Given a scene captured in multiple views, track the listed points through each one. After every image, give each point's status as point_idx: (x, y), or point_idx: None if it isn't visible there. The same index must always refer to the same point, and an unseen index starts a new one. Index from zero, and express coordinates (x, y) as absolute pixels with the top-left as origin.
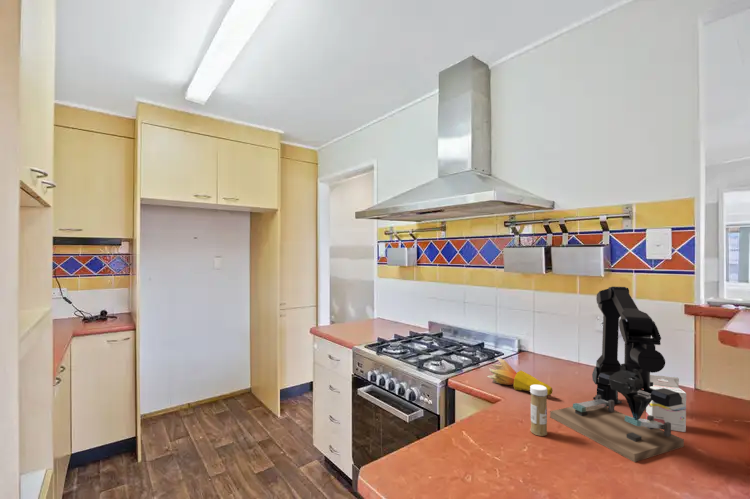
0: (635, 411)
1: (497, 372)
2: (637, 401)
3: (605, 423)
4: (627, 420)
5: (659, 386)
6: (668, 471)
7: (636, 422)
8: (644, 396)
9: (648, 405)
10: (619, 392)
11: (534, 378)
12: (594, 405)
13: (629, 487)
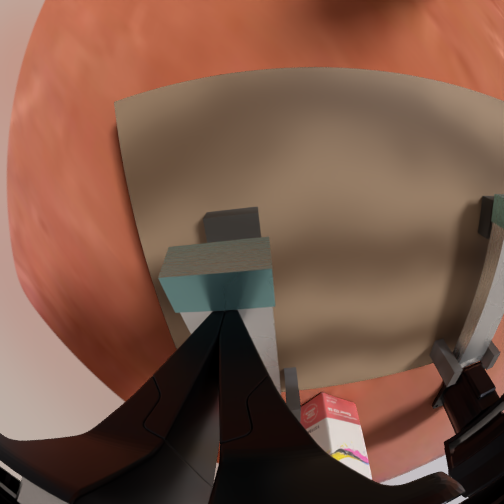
0: (201, 353)
1: None
2: (115, 447)
3: (406, 239)
4: (242, 245)
5: None
6: (70, 187)
7: (167, 265)
8: (27, 499)
9: (352, 447)
10: (410, 485)
11: None
12: (489, 292)
13: (55, 3)
